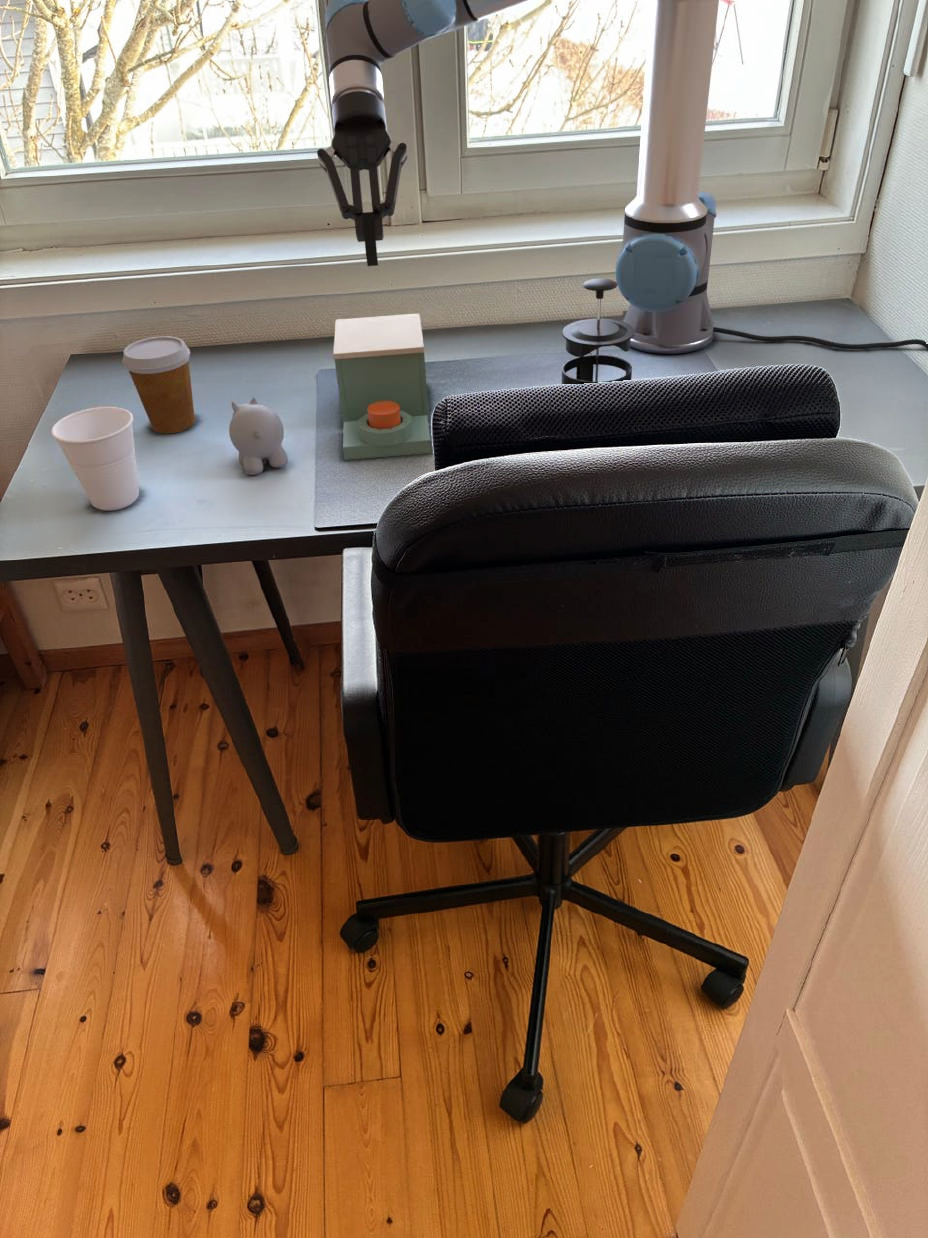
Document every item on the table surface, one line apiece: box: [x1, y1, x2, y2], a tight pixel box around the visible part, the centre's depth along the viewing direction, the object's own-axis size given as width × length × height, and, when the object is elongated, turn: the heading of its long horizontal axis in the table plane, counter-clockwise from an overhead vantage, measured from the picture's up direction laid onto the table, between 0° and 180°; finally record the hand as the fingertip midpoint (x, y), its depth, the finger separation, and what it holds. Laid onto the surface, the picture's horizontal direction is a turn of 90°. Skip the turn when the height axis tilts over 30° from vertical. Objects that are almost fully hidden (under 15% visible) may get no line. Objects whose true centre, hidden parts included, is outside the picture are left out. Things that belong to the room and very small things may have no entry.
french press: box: [561, 277, 634, 385], centre depth 122 cm, size 12×9×23 cm
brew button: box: [367, 401, 401, 429], centre depth 129 cm, size 4×4×2 cm
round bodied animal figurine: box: [228, 397, 289, 476], centre depth 129 cm, size 7×12×8 cm, turn 23°
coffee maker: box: [334, 351, 430, 426], centre depth 140 cm, size 13×13×11 cm
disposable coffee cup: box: [121, 335, 196, 434], centre depth 138 cm, size 10×10×12 cm
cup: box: [50, 406, 140, 512], centre depth 121 cm, size 10×10×11 cm
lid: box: [332, 312, 425, 360], centre depth 136 cm, size 14×13×1 cm
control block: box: [342, 411, 432, 461], centre depth 132 cm, size 12×9×4 cm
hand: (372, 260), depth 131 cm, fingers closed
